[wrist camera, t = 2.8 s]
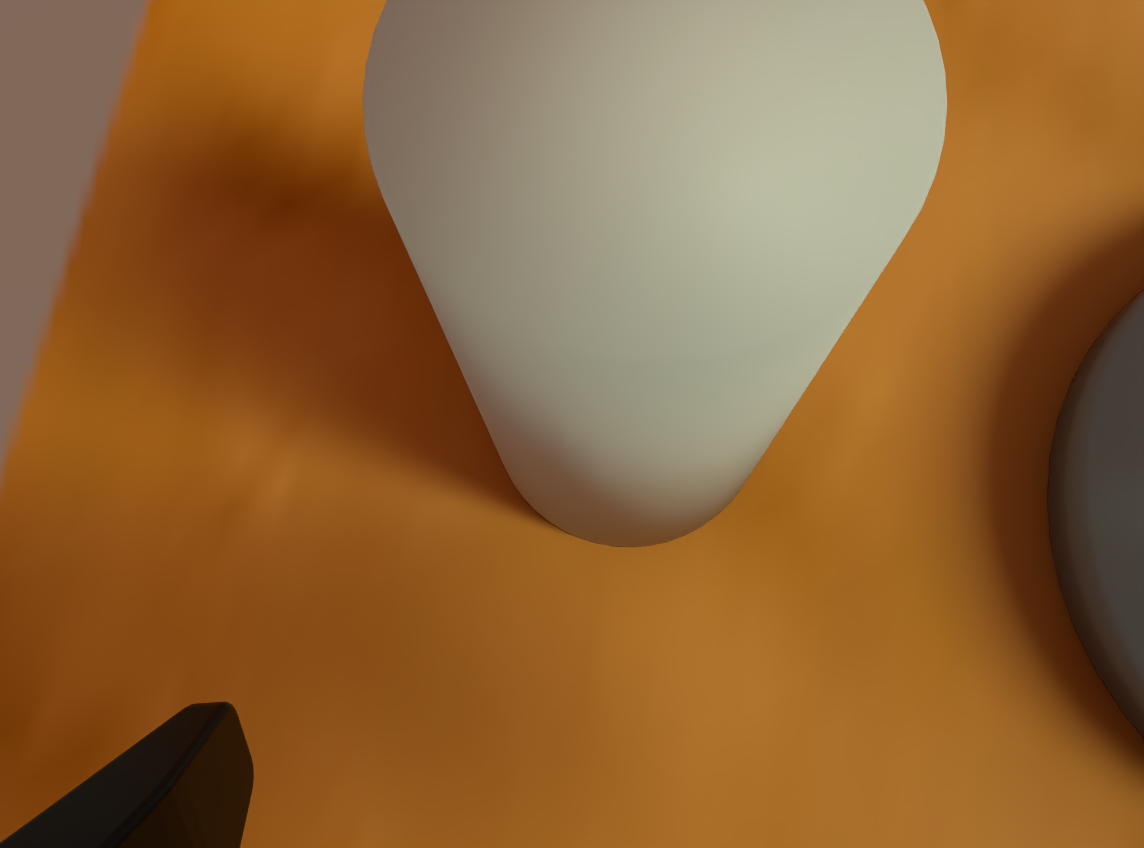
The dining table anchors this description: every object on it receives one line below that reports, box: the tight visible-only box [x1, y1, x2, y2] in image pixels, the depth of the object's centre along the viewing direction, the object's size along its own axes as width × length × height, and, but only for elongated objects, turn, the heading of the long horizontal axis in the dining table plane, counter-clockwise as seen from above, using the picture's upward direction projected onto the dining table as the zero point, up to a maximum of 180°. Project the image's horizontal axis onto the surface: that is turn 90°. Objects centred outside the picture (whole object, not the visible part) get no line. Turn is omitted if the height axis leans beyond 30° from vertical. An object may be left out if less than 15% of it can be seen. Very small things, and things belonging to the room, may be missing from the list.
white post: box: [363, 0, 947, 547], centre depth 17 cm, size 6×6×13 cm
